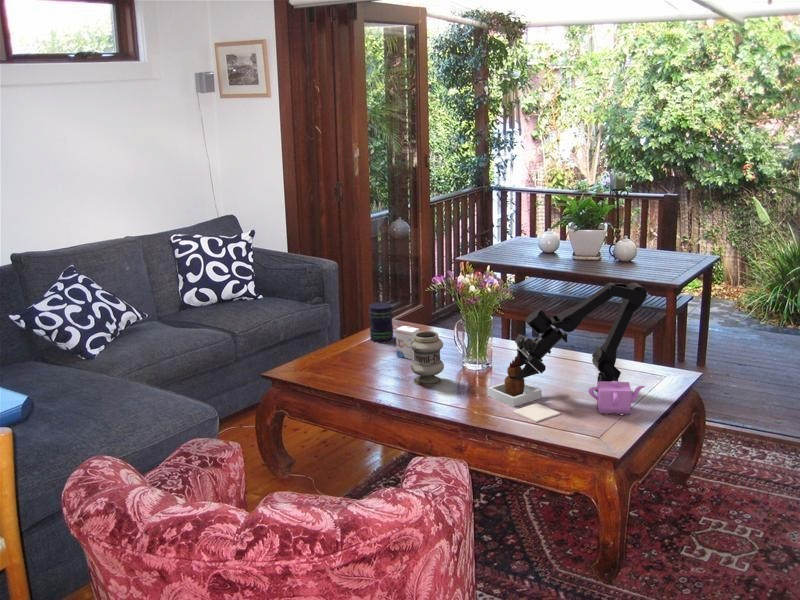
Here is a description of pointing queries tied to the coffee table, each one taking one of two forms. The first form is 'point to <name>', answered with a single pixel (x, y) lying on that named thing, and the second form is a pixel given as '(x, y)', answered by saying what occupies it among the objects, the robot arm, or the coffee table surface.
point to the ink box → (405, 341)
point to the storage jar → (381, 322)
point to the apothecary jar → (427, 358)
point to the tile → (536, 412)
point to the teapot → (614, 397)
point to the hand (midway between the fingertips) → (513, 374)
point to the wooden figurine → (514, 379)
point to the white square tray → (529, 395)
